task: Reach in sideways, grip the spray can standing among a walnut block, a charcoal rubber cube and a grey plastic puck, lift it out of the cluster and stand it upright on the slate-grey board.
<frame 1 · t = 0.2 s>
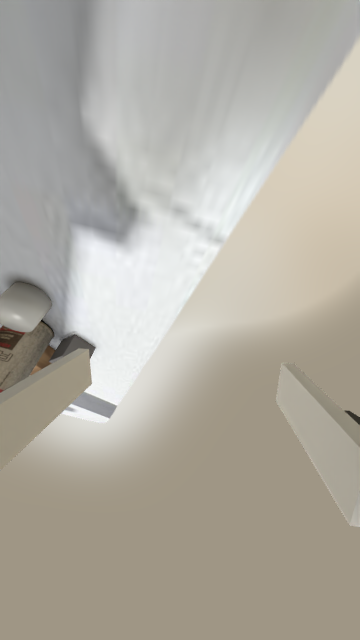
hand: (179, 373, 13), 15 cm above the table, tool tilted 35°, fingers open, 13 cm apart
grey plastic puck: (32, 297, 31), on the table
charcoal rubber cube: (78, 344, 41), on the table
spray can: (35, 327, 38), on the table
walnut block: (46, 351, 45), on the table
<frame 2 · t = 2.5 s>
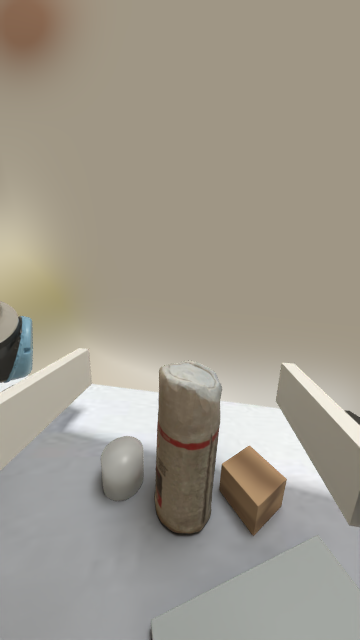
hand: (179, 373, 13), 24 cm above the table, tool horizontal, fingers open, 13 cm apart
grey plastic puck: (123, 479, 30), on the table
spray can: (182, 498, 27), on the table
walnut block: (249, 498, 28), on the table
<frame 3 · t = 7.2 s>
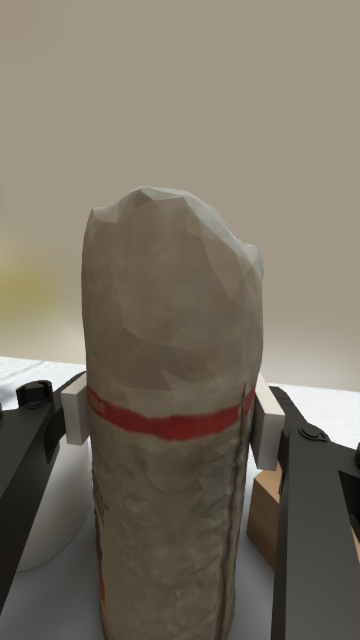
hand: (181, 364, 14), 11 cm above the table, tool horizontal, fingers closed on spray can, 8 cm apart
grey plastic puck: (48, 512, 14), on the table
spray can: (168, 557, 12), on the table, touching gripper
walnut block: (313, 553, 13), on the table
when the fingers open (13 cm above the table, at t = 10.5 s): spray can drops 1 cm, resting on slate board.
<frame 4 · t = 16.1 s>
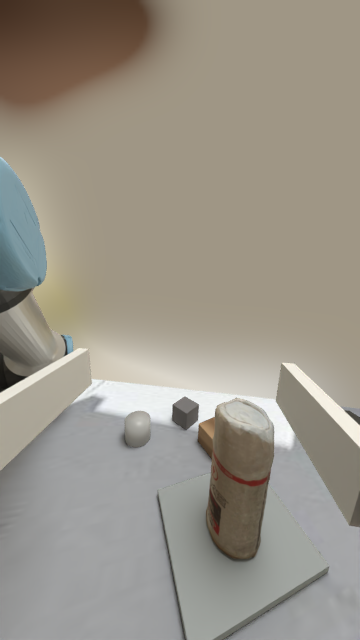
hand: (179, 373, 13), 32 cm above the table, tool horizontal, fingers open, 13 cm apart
grey plastic puck: (138, 437, 47), on the table
slate board: (230, 527, 30), on the table
charcoal rubber cube: (185, 420, 53), on the table
spray can: (231, 523, 30), point 1 cm above the table, touching slate board
walnut block: (215, 445, 45), on the table
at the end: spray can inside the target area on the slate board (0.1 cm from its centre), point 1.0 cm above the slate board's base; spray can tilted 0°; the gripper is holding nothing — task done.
